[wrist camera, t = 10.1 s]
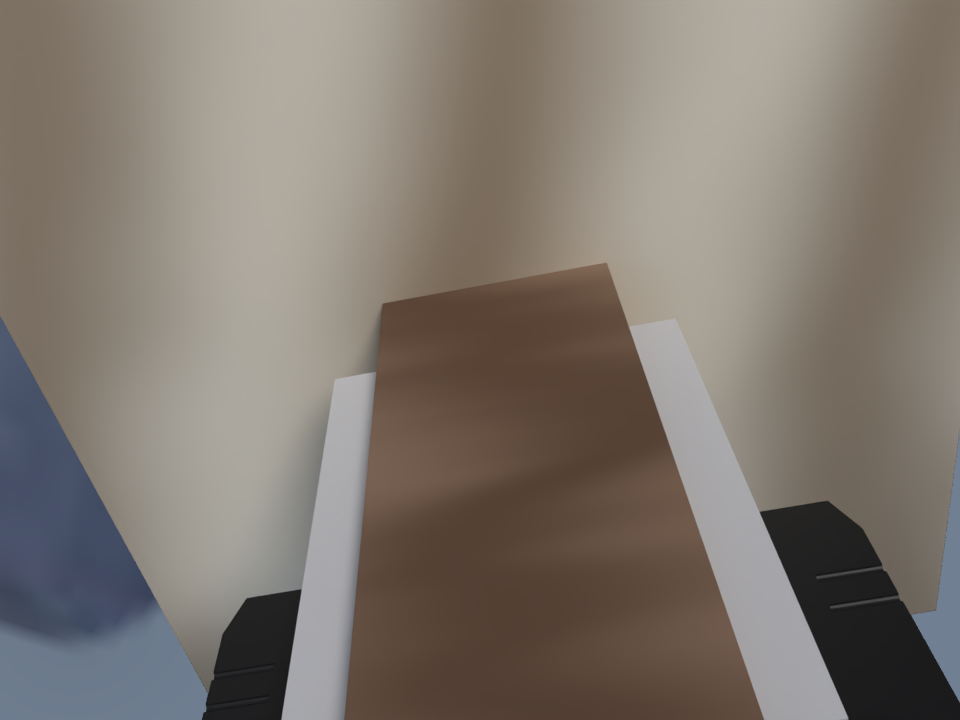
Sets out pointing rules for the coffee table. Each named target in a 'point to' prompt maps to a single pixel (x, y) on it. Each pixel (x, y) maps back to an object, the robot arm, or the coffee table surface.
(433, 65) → the board
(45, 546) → the coffee table surface
